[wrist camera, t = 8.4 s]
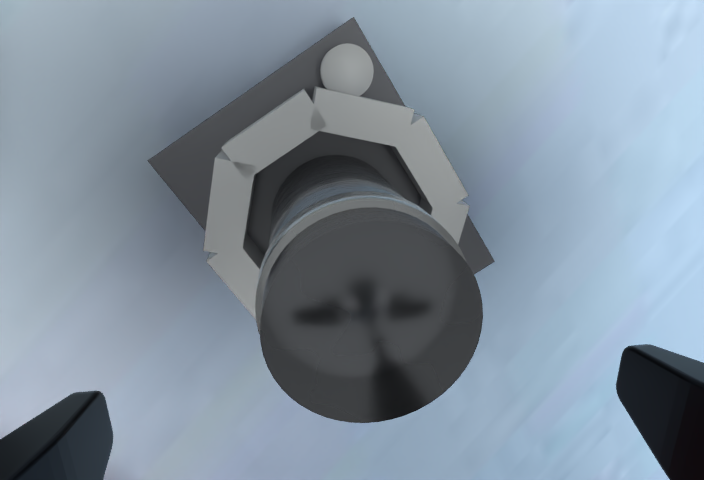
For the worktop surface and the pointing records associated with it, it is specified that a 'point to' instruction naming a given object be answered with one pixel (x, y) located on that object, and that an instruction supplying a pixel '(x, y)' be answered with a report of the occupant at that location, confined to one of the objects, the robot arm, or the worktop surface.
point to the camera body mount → (308, 154)
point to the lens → (362, 296)
